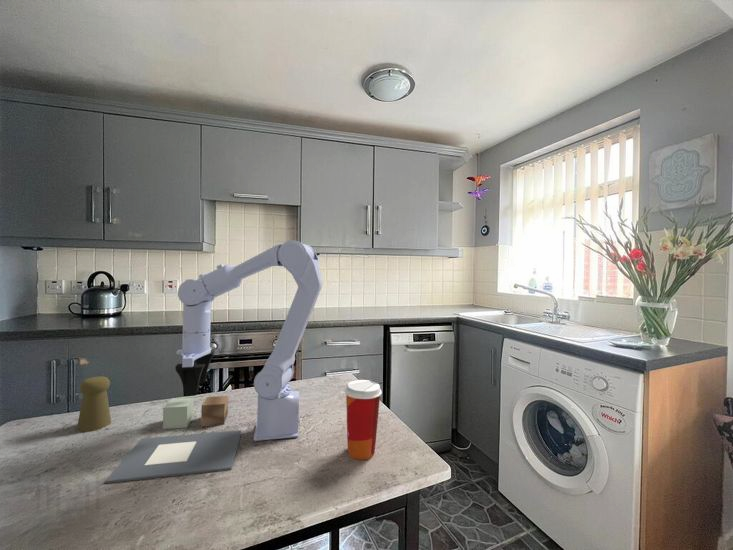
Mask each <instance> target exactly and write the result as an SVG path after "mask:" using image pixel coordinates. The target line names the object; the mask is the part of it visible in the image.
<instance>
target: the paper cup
mask: <svg viewBox="0 0 733 550" xmlns="http://www.w3.org/2000/svg"><path fill="white" fill-rule="evenodd" d="M344 393H345V396H346V403H345V404H346V433H347V434H346V437H347V454H348V456H349V455H350V456H349V457H351V458H352V459H354V458H355V460H357V461H359V460H360V461H363V459H366V460H369V459H371V458H372V457H374V455H375V450H376V443H377V433H378V432H377V431H378V422H379V411H380V410H379V409H380V400H381V399H380V398H381V395H382V394H383V393H382V389H381V386H380V384H379V383H376V382H374V381H372V380H368V379H356V380H353V381H349V382H348V383H347V385H346V388H345V389H344ZM370 457H371V458H370ZM368 458H369V459H368Z"/></svg>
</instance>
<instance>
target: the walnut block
mask: <svg viewBox="0 0 733 550" xmlns="http://www.w3.org/2000/svg"><path fill="white" fill-rule="evenodd" d="M200 413H201V415H200V416H201V417H200V418H201V419H200V420H201V421H200V427H206V426H207V427H209V426H219V424H222V425H225V422H226V421H227V418H228V416H229V415H228V414H229V395H219V396H218V395H217V396H216V395H215V396H206V398H205V399H204V401H203V403H202V404H201V412H200ZM227 415H228V416H227ZM225 420H226V421H225Z"/></svg>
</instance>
